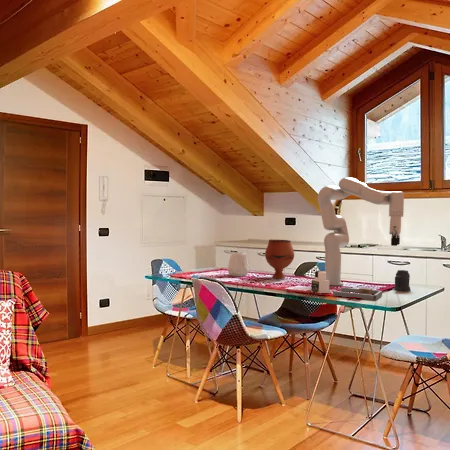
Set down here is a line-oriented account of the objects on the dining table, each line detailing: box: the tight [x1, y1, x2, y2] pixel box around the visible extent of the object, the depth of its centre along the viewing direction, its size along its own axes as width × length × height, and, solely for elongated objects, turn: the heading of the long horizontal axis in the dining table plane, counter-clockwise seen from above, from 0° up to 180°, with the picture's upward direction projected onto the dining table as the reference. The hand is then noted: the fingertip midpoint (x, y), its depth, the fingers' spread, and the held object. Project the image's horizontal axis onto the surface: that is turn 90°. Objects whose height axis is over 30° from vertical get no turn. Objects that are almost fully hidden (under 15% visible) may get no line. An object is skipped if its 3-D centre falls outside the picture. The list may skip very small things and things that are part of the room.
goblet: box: [264, 238, 295, 280], centre depth 328 cm, size 19×19×25 cm
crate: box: [358, 287, 373, 295], centre depth 263 cm, size 6×5×4 cm
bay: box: [332, 286, 383, 301], centre depth 265 cm, size 22×16×2 cm
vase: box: [227, 252, 250, 278], centre depth 336 cm, size 14×14×15 cm
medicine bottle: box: [310, 270, 330, 294], centre depth 273 cm, size 7×7×12 cm
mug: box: [393, 269, 411, 293], centre depth 285 cm, size 12×9×11 cm
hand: (395, 245), depth 274 cm, fingers open, 9 cm apart
